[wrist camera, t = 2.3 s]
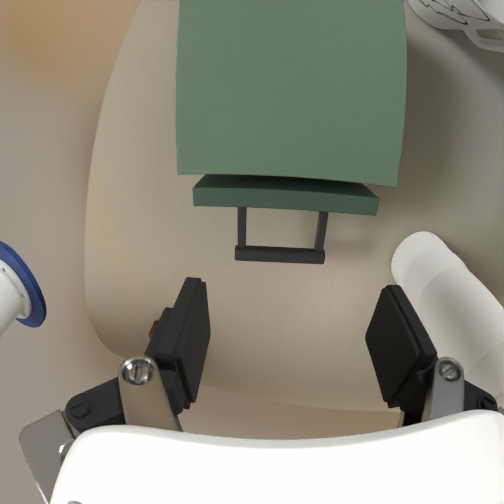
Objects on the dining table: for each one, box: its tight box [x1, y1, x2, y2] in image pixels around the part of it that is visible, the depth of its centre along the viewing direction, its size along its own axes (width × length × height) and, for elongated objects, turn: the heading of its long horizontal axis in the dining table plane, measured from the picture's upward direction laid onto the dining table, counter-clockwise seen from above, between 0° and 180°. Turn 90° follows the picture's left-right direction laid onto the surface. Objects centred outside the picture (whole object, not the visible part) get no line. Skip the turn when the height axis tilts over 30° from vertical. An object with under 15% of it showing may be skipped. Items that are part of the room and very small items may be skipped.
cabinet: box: [176, 0, 407, 188], centre depth 15 cm, size 15×13×10 cm
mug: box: [408, 0, 504, 53], centre depth 9 cm, size 11×8×10 cm
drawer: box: [193, 174, 379, 264], centre depth 18 cm, size 19×11×8 cm, turn 179°
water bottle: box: [391, 231, 504, 409], centre depth 16 cm, size 7×7×25 cm
